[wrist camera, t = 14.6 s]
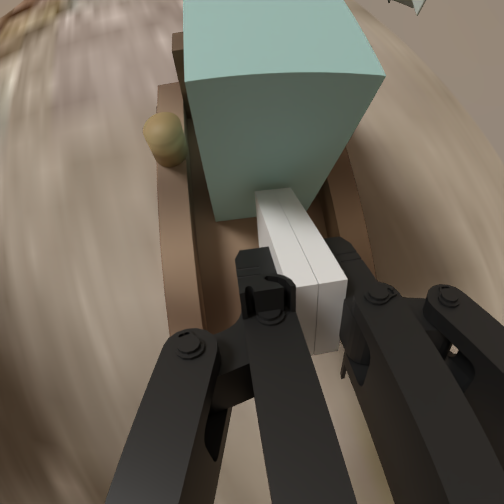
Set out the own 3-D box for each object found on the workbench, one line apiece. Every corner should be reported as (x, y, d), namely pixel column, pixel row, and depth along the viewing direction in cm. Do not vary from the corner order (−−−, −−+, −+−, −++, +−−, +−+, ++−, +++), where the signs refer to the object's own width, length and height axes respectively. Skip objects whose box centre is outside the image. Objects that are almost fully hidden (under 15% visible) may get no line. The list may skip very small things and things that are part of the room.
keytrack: (367, 319, 18) (436, 317, 11) (176, 349, 17) (136, 367, 10) (318, 101, 21) (343, 26, 14) (160, 116, 20) (134, 41, 13)
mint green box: (306, 210, 18) (386, 75, 7) (215, 221, 17) (184, 81, 6) (284, 108, 19) (315, -40, 8) (204, 116, 19) (184, -37, 8)
